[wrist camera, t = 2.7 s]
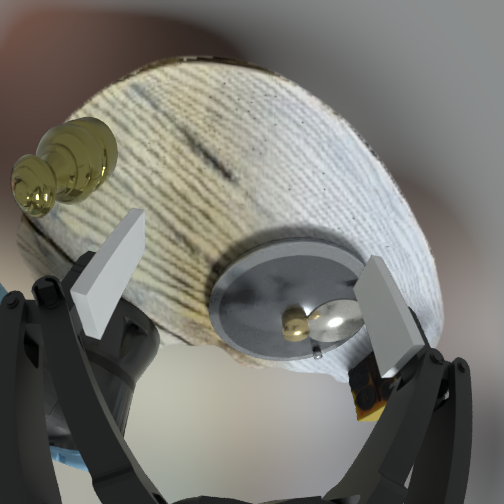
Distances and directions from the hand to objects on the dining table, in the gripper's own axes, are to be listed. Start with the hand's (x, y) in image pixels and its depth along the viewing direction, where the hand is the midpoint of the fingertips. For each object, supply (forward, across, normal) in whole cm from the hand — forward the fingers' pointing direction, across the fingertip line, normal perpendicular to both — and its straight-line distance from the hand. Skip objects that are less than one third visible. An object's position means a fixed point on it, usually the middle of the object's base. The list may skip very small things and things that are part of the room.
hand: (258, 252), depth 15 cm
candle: (+11, +28, -25) cm, 40 cm away
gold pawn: (+10, -17, +1) cm, 20 cm away
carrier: (+10, +8, -14) cm, 19 cm away
